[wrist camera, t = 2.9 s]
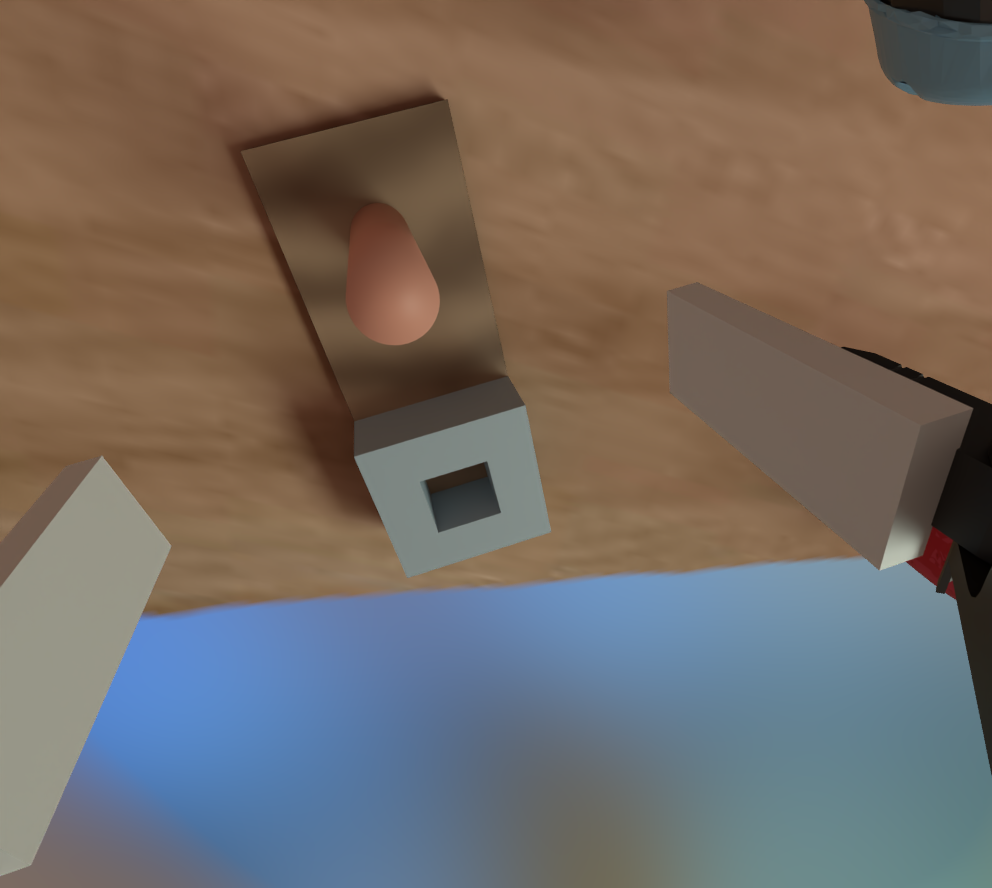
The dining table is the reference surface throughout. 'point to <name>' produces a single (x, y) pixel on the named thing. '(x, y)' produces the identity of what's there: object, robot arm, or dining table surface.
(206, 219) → the dining table surface
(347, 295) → the peg
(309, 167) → the board
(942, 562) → the wine bottle
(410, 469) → the socket
